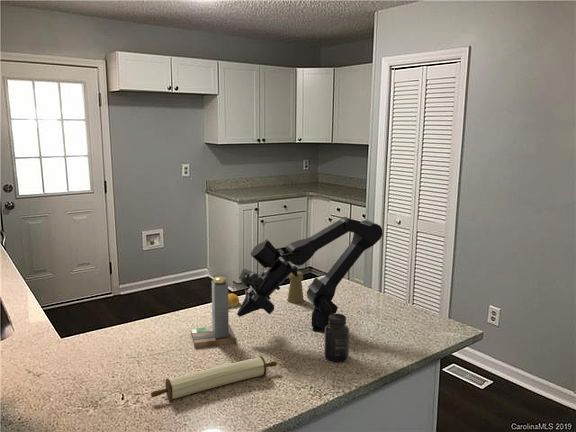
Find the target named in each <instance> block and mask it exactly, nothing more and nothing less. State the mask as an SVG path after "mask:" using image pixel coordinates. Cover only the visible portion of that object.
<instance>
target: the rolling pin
mask: <svg viewBox="0 0 576 432" xmlns="http://www.w3.org/2000/svg"><path fill="white" fill-rule="evenodd" d="M277 365H278V363H277V361H275V360H274V361H271V362H266V360H265V358H264V357H263V356H262V355H260V356H259V357H255V358H250V359H244V360H242V361H237V362H236V361H234V362H231V363H228V364H224V365H219V366H215V367H211V368H207V369H203V370H199V371H195V372H191V373H188V374H184V375H180V376H178V377H177V376H176V377H174V378H173V377H172V378H166V379H165V382H164V383H165V384H164V385H165V388H163V389H158V390H153V391H151V393H150V396H151V398H156V397H158V396H160V395H161V396H162V395H164V394H166V398H167V401H168V402H171V401H172V400H175V399H178V398H181V397H186V396H189V395H192V394H194V393H199V392H203V391H207V390H210V389H213V388H217V387H220V386H223V385H224V386H225V385H228V384H233V383H236V382H239V381H244V380H245V381H246V380H248V379H253V378H256V377H261V376H262V377H265V376H266V375H267V370H268V369H267V368H272V367H276V366H277Z"/></svg>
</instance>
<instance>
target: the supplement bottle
mask: <svg viewBox="0 0 576 432" xmlns="http://www.w3.org/2000/svg"><path fill="white" fill-rule="evenodd" d="M328 323H329V324H328V325H326V327H325V331H324V342H323V343H324V344H323V345H324V346H323V348H324V349H323V351H324V352H323V354H324V358H325V359H326V360H327V361H329V362H332V363H343V362H346V361H348V360H349V355H350V328H349V326H348V325H347V316H346V315H344V314H343V313H342V314H341V313H335V314H331V315H329V320H328Z"/></svg>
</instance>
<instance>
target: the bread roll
mask: <svg viewBox="0 0 576 432" xmlns="http://www.w3.org/2000/svg"><path fill="white" fill-rule="evenodd" d="M239 303H240V298H239V296H238V295H237V294H235V293H228V309H229V308H230V307H231V308H234V307H237V306H238V305H239Z"/></svg>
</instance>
